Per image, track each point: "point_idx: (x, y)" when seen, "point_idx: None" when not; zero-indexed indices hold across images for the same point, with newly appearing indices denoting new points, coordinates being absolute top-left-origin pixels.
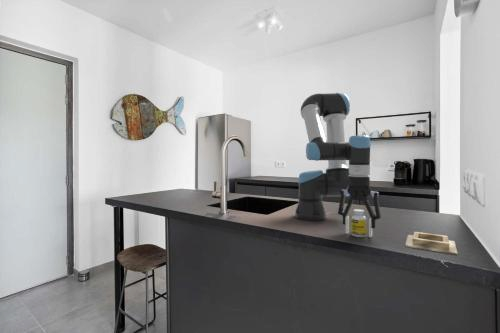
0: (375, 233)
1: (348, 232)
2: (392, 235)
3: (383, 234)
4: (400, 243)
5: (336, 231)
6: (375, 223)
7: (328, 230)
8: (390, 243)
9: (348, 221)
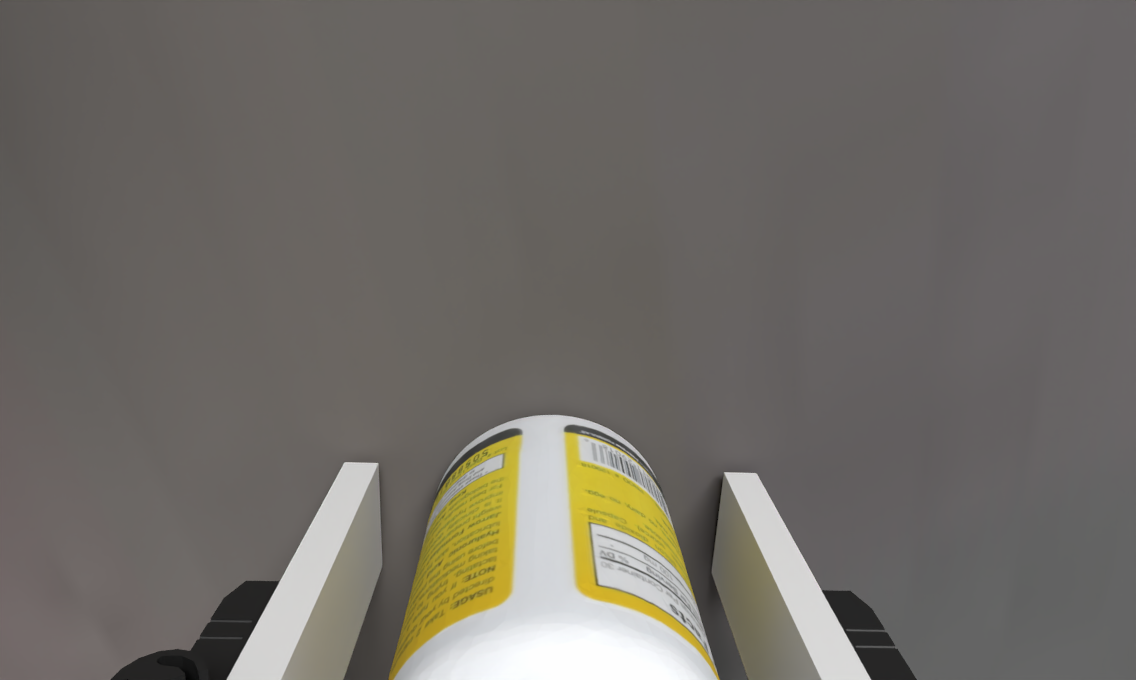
0: (796, 264)
1: (378, 502)
2: (1074, 247)
3: (929, 260)
4: (1114, 604)
5: (168, 476)
6: (899, 652)
7: (26, 484)
8: (985, 662)
9: (323, 647)
